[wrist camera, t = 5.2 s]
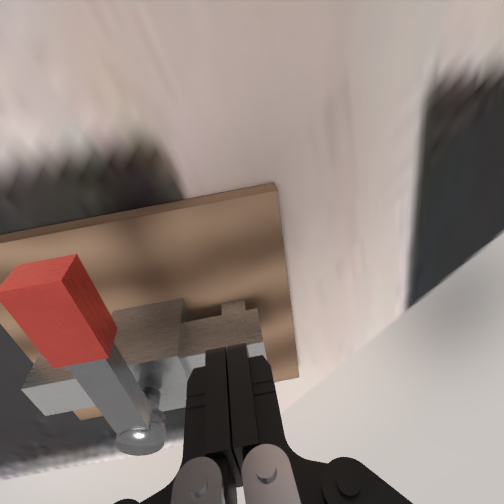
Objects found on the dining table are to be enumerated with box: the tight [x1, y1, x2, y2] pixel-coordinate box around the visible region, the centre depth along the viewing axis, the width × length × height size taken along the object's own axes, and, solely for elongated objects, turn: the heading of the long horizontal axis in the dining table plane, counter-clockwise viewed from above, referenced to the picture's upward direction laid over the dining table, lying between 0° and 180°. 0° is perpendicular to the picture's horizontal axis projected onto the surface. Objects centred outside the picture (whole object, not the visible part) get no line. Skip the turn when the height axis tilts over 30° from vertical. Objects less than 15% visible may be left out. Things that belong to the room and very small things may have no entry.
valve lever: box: [0, 254, 167, 456], centre depth 19 cm, size 15×3×4 cm, turn 9°
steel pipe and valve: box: [21, 298, 267, 416], centre depth 27 cm, size 6×18×6 cm, turn 99°
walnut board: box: [0, 183, 299, 420], centre depth 30 cm, size 22×24×2 cm
